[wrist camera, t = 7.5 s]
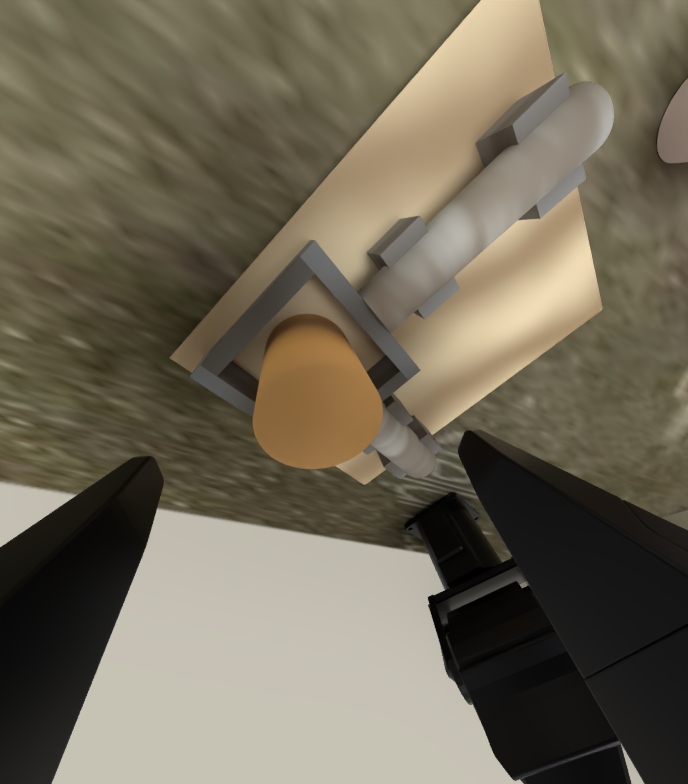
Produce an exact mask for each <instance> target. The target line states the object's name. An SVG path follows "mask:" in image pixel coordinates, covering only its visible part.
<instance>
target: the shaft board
mask: <svg viewBox="0 0 688 784" xmlns="http://www.w3.org/2000/svg"><path fill="white" fill-rule="evenodd" d="M613 120H614V109H613V103H612V100H611V98H610V96H609V94H608V93H607V91H606V90H605V89H604V88H603V87H601V86H600V85H598V84H596V83H593V82H580V83H576V84H574V85H572V86H570V87H569V86H568V80H567V75H566V72H564V73H563V74H561V75H559V76H558V77H556V78H555V76H554V71H553V67H552V62H551V57H550V52H549V47H548V42H547V38H546V33H545V28H544V23H543V18H542V13H541V8H540V4H539V0H481V1H480V2H479V3H478V4H477V6H476V7H475V8H474V9H473V10H472V11H471V12H470V14H469V15H468V16H467V17H466V18H465V19H464V20H463V22H462V23H461V24H460V25H459V26H458V27H457V28H456V30H455V31H454V32H453V33H452V34H451V35H450V37H449V38H448V39H447V40H446V41H445V42H444V43H443V45H442V46H441V47H440V48H439V49H438V50H437V51H436V53H435V54H434V55H433V56H432V57H431V58H430V59H429V61H428V62H427V63H426V64H425V65H424V66H423V67H422V69H421V70H420V71H419V72H418V73H417V74H416V76H415V77H414V78H413V79H412V80H411V81H410V82H409V84H408V85H407V86H406V87H405V88H404V89H403V90H402V92H401V93H400V94H399V95H398V96H397V97H396V98H395V100H394V101H393V102H392V103H391V104H390V105H389V106H388V108H387V109H386V110H385V111H384V112H383V113H382V115H381V116H380V117H379V118H378V119H377V120H376V121H375V123H374V124H373V125H372V126H371V127H370V128H369V129H368V131H367V132H366V133H365V134H364V135H363V136H362V137H361V139H360V140H359V141H358V142H357V143H356V144H355V145H354V147H353V148H352V149H351V150H350V151H349V152H348V154H347V155H346V156H345V157H344V158H343V159H342V160H341V162H340V163H339V164H338V165H337V166H336V167H335V168H334V170H333V171H332V172H331V173H330V174H329V175H328V176H327V178H326V179H325V180H324V181H323V182H322V183H321V185H320V186H319V187H318V188H317V189H316V190H315V191H314V193H313V194H312V195H311V196H310V197H309V198H308V199H307V201H306V202H305V203H304V204H303V205H302V206H301V207H300V209H299V210H298V211H297V212H296V213H295V214H294V215H293V217H292V218H291V219H290V220H289V221H288V222H287V224H286V225H285V226H284V227H283V228H282V229H281V230H280V232H279V233H278V234H277V235H276V236H275V237H274V238H273V240H272V241H271V242H270V243H269V244H268V245H267V246H266V248H265V249H264V250H263V251H262V252H261V253H260V254H259V256H258V257H257V258H256V259H255V260H254V261H253V263H252V264H251V265H250V266H249V267H248V268H247V269H246V271H245V272H244V273H243V274H242V275H241V276H240V277H239V279H238V280H237V281H236V282H235V283H234V284H233V285H232V287H231V288H230V289H229V290H228V291H227V292H226V293H225V295H224V296H223V297H222V298H221V299H220V300H219V302H218V303H217V304H216V305H215V306H214V307H213V308H212V310H211V311H210V312H209V313H208V314H207V315H206V316H205V318H204V319H203V320H202V321H201V322H200V323H199V324H198V326H197V327H196V328H195V329H194V330H193V331H192V332H191V334H190V335H189V336H188V337H187V338H186V339H185V341H184V342H183V343H182V344H181V345H180V346H179V347H178V349H177V350H176V351H175V352H174V353H173V354H172V355H171V357H170V359H171V360H173V361H175V362H176V363H178V364H179V365H181V366H182V367H184V368H185V369H187V370H188V371H190V372H191V373H192V374H191V375H190V377H189V378H191V379H193V380H194V381H196V382H197V383H199V384H200V385H202V386H204V387H205V388H207V389H208V390H210V391H211V392H213V393H215V394H216V395H218V396H219V397H221V398H222V399H224V400H225V401H227V402H229V403H230V404H232V405H233V406H235V407H236V408H238V409H240V410H241V411H243V412H244V413H246V414H247V415H249V416H251V417H252V418H253V414H254V408H255V402H256V397H257V391H258V385H259V380H260V374H261V369H262V363H263V357H264V352H265V346H266V342H267V339H268V337H269V335H270V334H271V332H272V331H273V329H274V328H275V327H276V326H277V325H278V324H279V323H281V322H282V321H284V320H285V319H287V318H289V317H292V316H295V315H299V314H316V315H320V316H323V317H325V318H327V319H329V320H331V321H332V322H334V323H335V324H336V325H337V326H338V327H339V328H340V329H341V330H342V331H343V333H344V335H345V336H346V338H347V340H348V341H349V343H350V345H351V347H352V348H353V350H354V352H355V353H356V355H357V357H358V359H359V360H360V362H361V364H362V365H363V367H364V369H365V371H366V372H367V374H368V376H369V377H370V379H371V381H372V383H373V384H374V386H375V388H376V389H377V391H378V393H379V395H380V398H381V400H382V405H383V418H382V423H381V426H380V429H379V431H378V433H377V435H376V436H375V438H374V440H373V441H372V442H371V443H370V445H369V446H368V447H367V448H366V449H364V450H363V451H362V452H361V453H360V454H358V455H357V456H355V457H354V458H352V459H350V460H348V461H346V462H344V463H341V464H338V465H335V466H336V467H338V468H339V469H341V470H342V471H344V472H345V473H347V474H348V475H350V476H351V477H353V478H354V479H356V480H358V481H359V482H361V483H362V484H364V485H365V484H367V483H368V482H370V481H371V480H372V479H374V478H375V477H376V476H378V475H379V474H380V473H382V472H383V471H384V470H386V469H387V470H388V471H389V472H391V473H392V474H393V475H395V476H396V477H397V478H399V479H401V478H403V477H404V476H406V475H407V474H408V475H409V476H411V477H413V478H423V477H425V476H427V475H428V474H429V473H430V472H431V471H432V470H433V468H434V466H435V463H436V456H435V454H436V453H438V452H439V451H440V450H442V448H441V447H440V445H439V444H438V442H437V441H436V440H435V438H434V437H433V436H432V435H433V434H435V433H436V432H437V431H439V430H440V429H441V428H443V427H444V426H445V425H447V424H448V423H449V422H451V421H452V420H453V419H455V418H456V417H458V416H459V415H460V414H462V413H463V412H464V411H466V410H467V409H468V408H470V407H471V406H472V405H474V404H475V403H476V402H478V401H479V400H481V399H482V398H483V397H485V396H486V395H487V394H489V393H490V392H491V391H493V390H494V389H495V388H497V387H498V386H499V385H501V384H502V383H504V382H505V381H506V380H508V379H509V378H510V377H512V376H513V375H514V374H516V373H517V372H518V371H520V370H521V369H523V368H524V367H525V366H527V365H528V364H529V363H531V362H532V361H533V360H535V359H536V358H537V357H539V356H540V355H541V354H543V353H544V352H546V351H547V350H548V349H550V348H551V347H552V346H554V345H555V344H556V343H558V342H559V341H560V340H562V339H563V338H564V337H566V336H567V335H569V334H570V333H571V332H573V331H574V330H575V329H577V328H578V327H579V326H581V325H582V324H583V323H585V322H586V321H587V320H589V319H590V318H592V317H593V316H594V315H596V314H597V313H598V312H600V311H601V310H602V309H603V308H602V304H601V299H600V294H599V289H598V284H597V279H596V275H595V270H594V265H593V260H592V255H591V250H590V246H589V241H588V236H587V231H586V226H585V221H584V217H583V212H582V207H581V202H580V197H579V192H578V187H577V186H579V185H580V184H581V183H582V182H583V181H584V180H585V179H586V177H585V171H584V166H583V162H584V161H585V160H586V159H587V158H588V157H589V156H591V155H592V154H593V153H594V152H595V151H596V150H597V149H598V148H600V147H601V145H602V144H603V143H604V142H605V141H606V139H607V137H608V136H609V134H610V131H611V128H612V125H613Z"/></svg>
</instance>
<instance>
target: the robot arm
mask: <svg viewBox="0 0 688 784" xmlns="http://www.w3.org/2000/svg"><path fill="white" fill-rule="evenodd" d="M458 454H459V457H460V460H461V462H462V464H463V466H464V468H465V470H466V472H467V475H468V477H469V479H470V481H471V483H472V485H473V488H474V490H475V492H476V494H477V496H478V498H479V500H480V502H481V503H482V505H483V507H484V509H485V510H486V512H487V514H488V516H489V517H490V519H491V521H492V522H493V524H494V526H495V528H496V529H497V531H498V533H499V534H500V536H501V538H502V540H503V541H504V543H505V545H506V546H507V548H508V550H509V552H510V553H511V555H512V557H511V559H509V560H507V561H505V562H503V563H502V561H501V560H500V558H499V557H498V555H497V554H496V552H495V551H494V549H493V548H492V546H491V544H490V543H489V541H488V540H487V538H486V537H485V535H484V534H483V532H482V531H481V529H480V528H479V526H478V525H477V523H476V521H478V520H479V519H480V518H481V516H480V515H479V513H478V512H477V511H475V510H474V509H473V508H472V507H471V506H470V505H469V504H467V503H466V502H465V501H464V500H463V499H462V498H461V497H459V496H458V495H457V494H455V493H454V494H451V495H449V496H448V497H446V498H445V499H443V500H442V501H440V502H439V503H437V504H436V505H434V506H433V507H431V508H430V509H428V510H427V511H425V512H424V513H422V514H421V515H419V516H418V517H416V518H414V519H413V520H411V521H410V522H408V523H407V524H406V525H405V529H406V531H407V532H409V533H411V534H412V535H414V536H416V537H417V538H419V539H421V540H423V542H424V544H425V546H426V549H427V551H428V553H429V555H430V558H431V560H432V562H433V564H434V567H435V569H436V571H437V573H438V576H439V578H440V580H441V582H442V584H443V587H444V589H445V591H443V592H440V593H438V594H436V595H431V596H429V597H428V601H429V605H428V607H429V609H430V612H431V615H432V618H433V622H434V625H435V628H436V632H437V635H438V638H439V642H440V646H441V651H442V656H443V661H444V665H445V670H446V672H447V674H448V676H449V678H451V679H452V680H453V681H455V682H456V684H457V686H458V688H459V690H460V692H461V694H462V695H463V697H464V699H465V700H466V701H467V702H468V704H470V705H472V704H473V705H474V708H475V710H476V712H477V714H478V717H479V719H480V721H481V723H482V726H483V728H484V730H485V733H486V735H487V738H488V740H489V743H490V746H491V748H492V751H493V753H494V755H495V757H496V758H497V760H498V761H499V762H500V763H501V765H502V766H503V768H504V769H505V770H506V772H507V773H508V774H509V775H510V777H511V778H512V779H513V780H515V781H516V780H519V779H520V780H521V781H522V782H523V783H524V784H631V780H630V777H629V773H628V769H627V765H626V762H625V758H624V754H623V750H622V747H621V744H622V746H623V747H624V749H625V751H626V752H627V754H628V756H629V758H630V759H631V761H632V763H633V764H634V766H635V768H636V770H637V771H638V773H639V775H640V777H641V778H642V780H643V782H644V783H645V784H688V530H686V529H684V528H682V527H679V526H677V525H675V524H673V523H671V522H669V521H667V520H665V519H662V518H660V517H658V516H656V515H654V514H652V513H650V512H648V511H646V510H644V509H642V508H640V507H638V506H635V505H633V504H631V503H629V502H627V501H625V500H621V499H620V498H619V497H617V496H615V495H613V494H611V493H609V492H607V491H605V490H603V489H601V488H599V487H597V486H594V485H592V484H590V483H588V482H586V481H584V480H582V479H580V478H578V477H576V476H574V475H572V474H570V473H568V472H566V471H564V470H562V469H560V468H558V467H556V466H554V465H552V464H550V463H548V462H545V461H543V460H541V459H539V458H537V457H535V456H533V455H531V454H529V453H527V452H525V451H523V450H521V449H519V448H517V447H515V446H513V445H511V444H509V443H507V442H505V441H503V440H501V439H498V438H496V437H494V436H492V435H490V434H488V433H486V432H484V431H482V430H480V429H472V430H467V431H465V433H464V435H463V437H462V440H461V442H460V445H459V448H458ZM163 484H164V480H163V476H162V474H161V471H160V469H159V467H158V464H157V462H156V460H155V458H154V457H152V456H140V457H133V458H131V459H130V460H128V461H127V462H125V463H124V464H122V465H121V466H119V467H118V468H116V469H115V470H113V471H112V472H110V473H109V474H108V475H106V476H105V477H103V478H102V479H100V480H99V481H97V482H96V483H94V484H93V485H91V486H90V487H88V488H87V489H85V490H84V491H83V492H81V493H80V494H78V495H77V496H75V497H74V498H72V499H71V500H69V501H68V502H66V503H65V504H63V505H62V506H60V507H59V508H58V509H56V510H55V511H53V512H52V513H50V514H49V515H47V516H46V517H44V518H43V519H42V520H40V521H38V522H37V523H36V524H34V525H32V526H31V527H30V528H28V529H27V530H25V531H24V532H22V533H21V534H19V535H18V536H17V537H15V538H13V539H12V540H10V541H9V542H8V543H6V544H5V545H3V546H2V547H0V784H52V781H53V779H54V776H55V773H56V771H57V769H58V766H59V763H60V761H61V758H62V756H63V753H64V751H65V749H66V746H67V744H68V741H69V739H70V736H71V734H72V731H73V729H74V726H75V723H76V721H77V719H78V716H79V714H80V711H81V708H82V706H83V704H84V701H85V698H86V696H87V693H88V691H89V688H90V686H91V684H92V681H93V679H94V676H95V674H96V671H97V669H98V666H99V663H100V661H101V658H102V656H103V653H104V651H105V648H106V646H107V643H108V641H109V638H110V636H111V633H112V631H113V628H114V626H115V623H116V621H117V618H118V616H119V613H120V611H121V608H122V606H123V603H124V601H125V598H126V596H127V593H128V591H129V588H130V586H131V583H132V581H133V578H134V576H135V573H136V571H137V568H138V566H139V563H140V561H141V558H142V556H143V553H144V550H145V548H146V545H147V542H148V538H149V535H150V531H151V528H152V524H153V521H154V517H155V514H156V510H157V507H158V503H159V499H160V496H161V492H162V489H163ZM523 582H526V584H527V585H528V586H527V587H524V588H521V586H520V585H519V584H521V583H523ZM620 742H621V743H620Z"/></svg>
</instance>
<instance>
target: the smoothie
mask: <svg viewBox="0 0 688 784" xmlns="http://www.w3.org/2000/svg"><path fill="white" fill-rule="evenodd" d="M657 150H658V154H659V156H660V158H661V159H662V160H663V161H664V162H666V163H684V162H688V78H687V79H686V80H685V82H684V83H683V84H682V85H681V87H680V88H679V89H678V91H677V92H676V94H675V95H674V97H673V98H672V100H671V102H670V104H669V106H668V108H667V110H666V112H665V114H664V116H663V119H662V122H661V125H660V128H659V132H658V138H657Z"/></svg>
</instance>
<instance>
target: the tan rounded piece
mask: <svg viewBox="0 0 688 784" xmlns="http://www.w3.org/2000/svg"><path fill="white" fill-rule="evenodd" d="M382 418H383V405H382V400H381V398H380V395H379V393H378V391H377V389H376V388H375V386H374V384H373V383H372V381H371V379H370V377H369V376H368V374H367V372H366V371H365V369H364V367H363V365H362V364H361V362H360V360H359V359H358V357H357V355H356V353H355V352H354V350H353V348H352V347H351V345H350V343H349V341H348V340H347V338H346V336H345V335H344V333H343V331H342V330H341V329H340V328H339V327H338V326H337V325H336V324H335V323H334V322H332V321H331V320H329V319H327V318H325V317H323V316H320V315H316V314H299V315H295V316H292V317H289V318H287V319H285V320H284V321H282V322H281V323H279V324H278V325H277V326H276V327H275V328H274V329H273V331H272V332H271V334H270V335H269V337H268V339H267V342H266V346H265V352H264V357H263V363H262V369H261V374H260V380H259V385H258V391H257V397H256V402H255V408H254V414H253V430H254V434H255V437H256V439H257V441H258V443H259V444H260V446H261V447H262V448H263V450H264V451H265V452H266V453H267V454H268V455H270V456H271V457H272V458H274V459H275V460H277V461H279V462H281V463H283V464H286V465H288V466H292V467H296V468H302V469H321V468H327V467H332V466H335V465H338V464H341V463H344V462H346V461H348V460H350V459H352V458H354V457H355V456H357V455H358V454H360V453H361V452H362V451H363V450H364V449H366V448H367V447H368V446H369V445H370V443H371V442H372V441H373V440H374V438H375V436H376V435H377V433H378V431H379V429H380V426H381V423H382Z"/></svg>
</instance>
